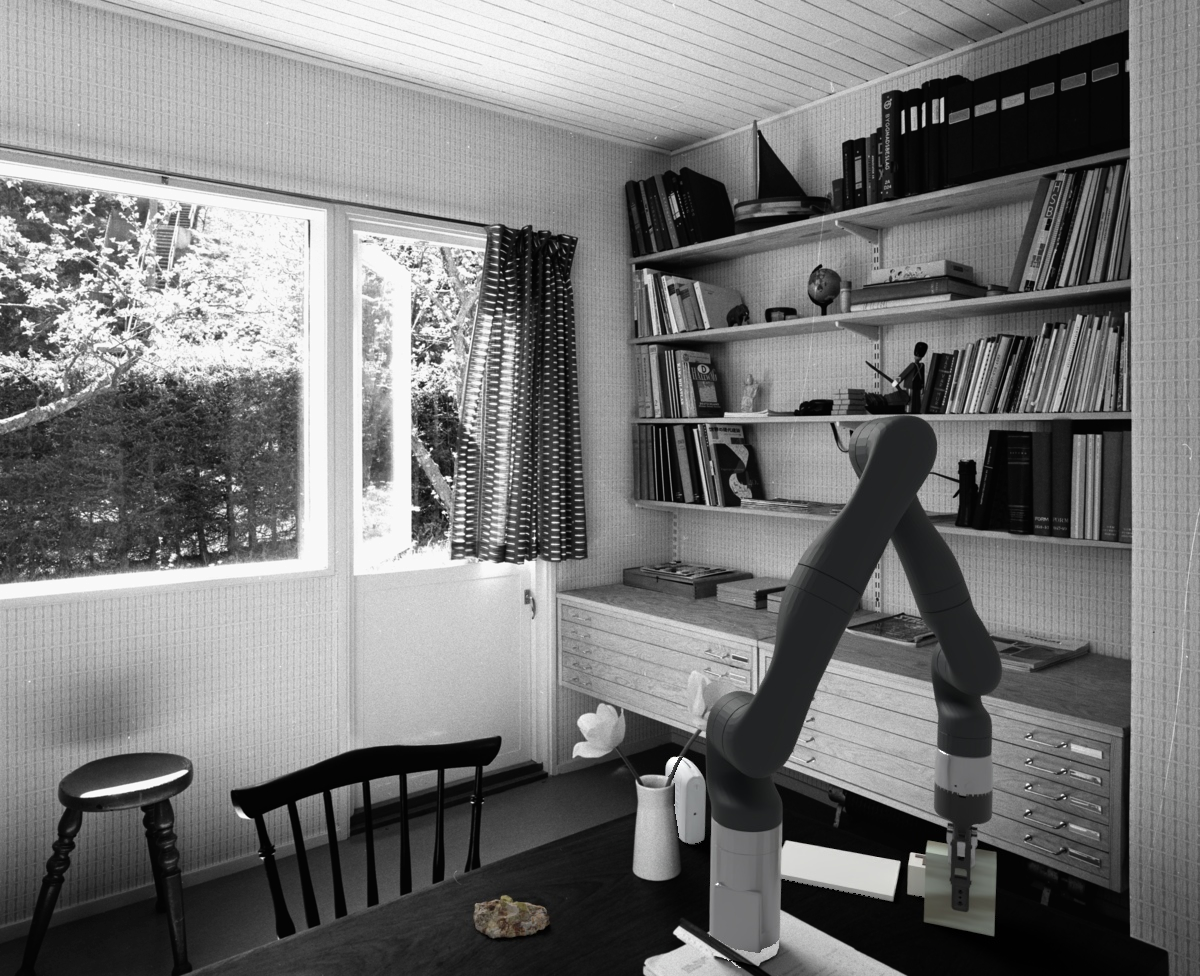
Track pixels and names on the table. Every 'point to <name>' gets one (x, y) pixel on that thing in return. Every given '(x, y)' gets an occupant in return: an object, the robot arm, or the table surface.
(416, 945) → the table surface
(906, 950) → the table surface
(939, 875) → the pale green rectangular block
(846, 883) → the mat
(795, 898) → the table surface
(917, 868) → the letter cube
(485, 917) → the mineral rock
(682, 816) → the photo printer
